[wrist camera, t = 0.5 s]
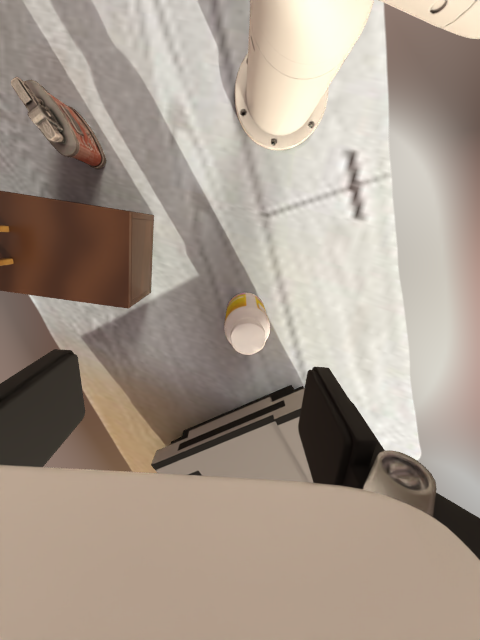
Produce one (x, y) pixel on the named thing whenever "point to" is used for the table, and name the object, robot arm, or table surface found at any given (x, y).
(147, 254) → the box
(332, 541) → the robot arm
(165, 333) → the table surface
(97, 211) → the lid
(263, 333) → the supplement bottle
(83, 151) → the lighter
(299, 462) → the game console
